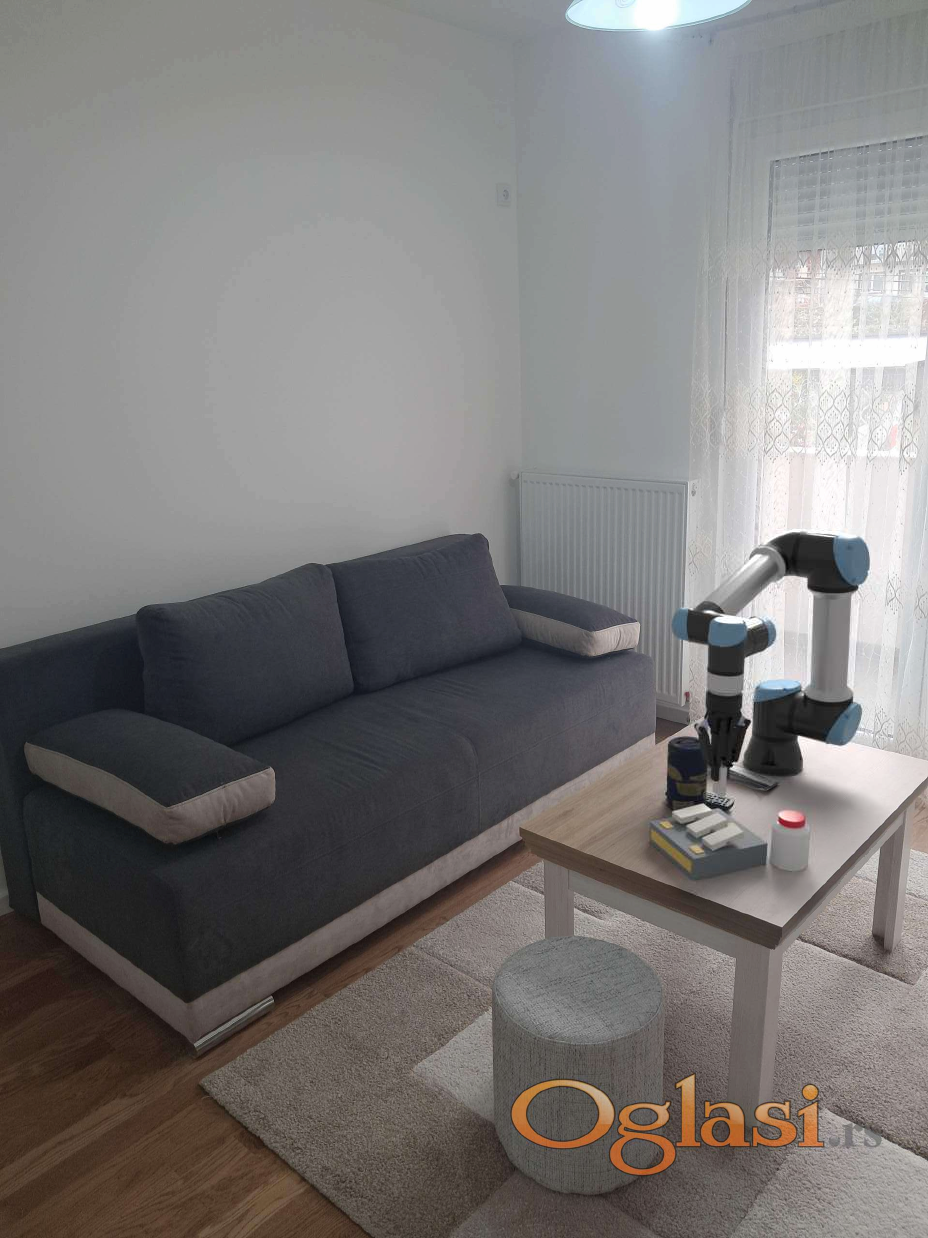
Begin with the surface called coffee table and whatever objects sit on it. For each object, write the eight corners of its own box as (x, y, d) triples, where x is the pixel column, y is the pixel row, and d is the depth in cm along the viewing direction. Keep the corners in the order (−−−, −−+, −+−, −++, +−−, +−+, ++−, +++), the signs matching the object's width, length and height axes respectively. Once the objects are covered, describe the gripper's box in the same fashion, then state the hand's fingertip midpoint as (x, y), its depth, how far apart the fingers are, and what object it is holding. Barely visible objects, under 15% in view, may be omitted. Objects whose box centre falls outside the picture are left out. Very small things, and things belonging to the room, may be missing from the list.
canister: (706, 817, 223) (709, 746, 219) (665, 814, 225) (668, 744, 220) (704, 800, 232) (707, 731, 228) (665, 797, 234) (667, 729, 230)
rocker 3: (733, 830, 203) (732, 823, 202) (745, 839, 199) (744, 832, 199) (702, 843, 201) (701, 837, 200) (713, 853, 197) (712, 846, 197)
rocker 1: (702, 809, 214) (702, 803, 214) (713, 817, 210) (712, 810, 210) (671, 817, 212) (671, 810, 211) (681, 825, 208) (681, 818, 207)
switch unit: (717, 828, 218) (718, 807, 217) (766, 864, 202) (767, 842, 200) (648, 842, 212) (649, 821, 211) (692, 880, 196) (693, 858, 194)
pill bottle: (764, 854, 206) (767, 808, 203) (798, 852, 206) (801, 806, 203) (778, 872, 198) (781, 825, 195) (814, 870, 199) (817, 823, 196)
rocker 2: (717, 818, 208) (716, 812, 208) (728, 826, 205) (727, 820, 204) (686, 831, 206) (685, 825, 206) (697, 840, 203) (696, 833, 202)
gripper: (740, 681, 204) (734, 782, 210) (687, 689, 200) (683, 791, 206) (761, 692, 197) (755, 795, 203) (707, 699, 193) (702, 805, 199)
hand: (719, 793), depth 204 cm, fingers closed
